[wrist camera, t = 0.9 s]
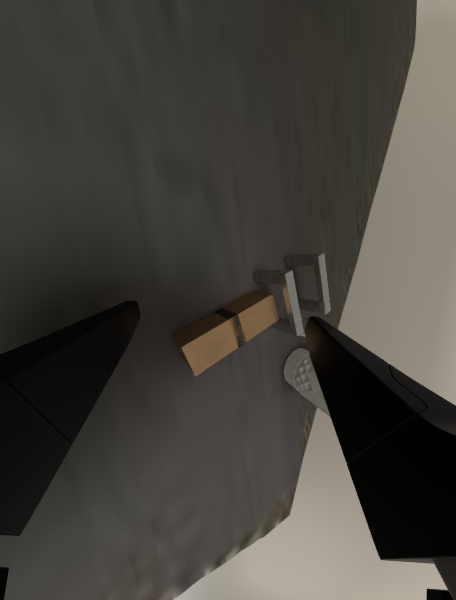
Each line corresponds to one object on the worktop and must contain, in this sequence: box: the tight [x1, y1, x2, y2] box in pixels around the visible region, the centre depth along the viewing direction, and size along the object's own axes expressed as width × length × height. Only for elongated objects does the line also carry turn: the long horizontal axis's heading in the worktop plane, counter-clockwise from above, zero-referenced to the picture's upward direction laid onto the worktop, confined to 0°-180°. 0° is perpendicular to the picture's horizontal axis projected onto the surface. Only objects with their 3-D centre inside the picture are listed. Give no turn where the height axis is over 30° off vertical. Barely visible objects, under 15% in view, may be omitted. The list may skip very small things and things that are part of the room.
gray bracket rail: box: [253, 253, 331, 337], centre depth 24 cm, size 7×11×5 cm, turn 18°
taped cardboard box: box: [172, 291, 279, 377], centre depth 21 cm, size 12×4×4 cm, turn 108°
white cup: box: [283, 348, 330, 416], centre depth 27 cm, size 8×8×10 cm
